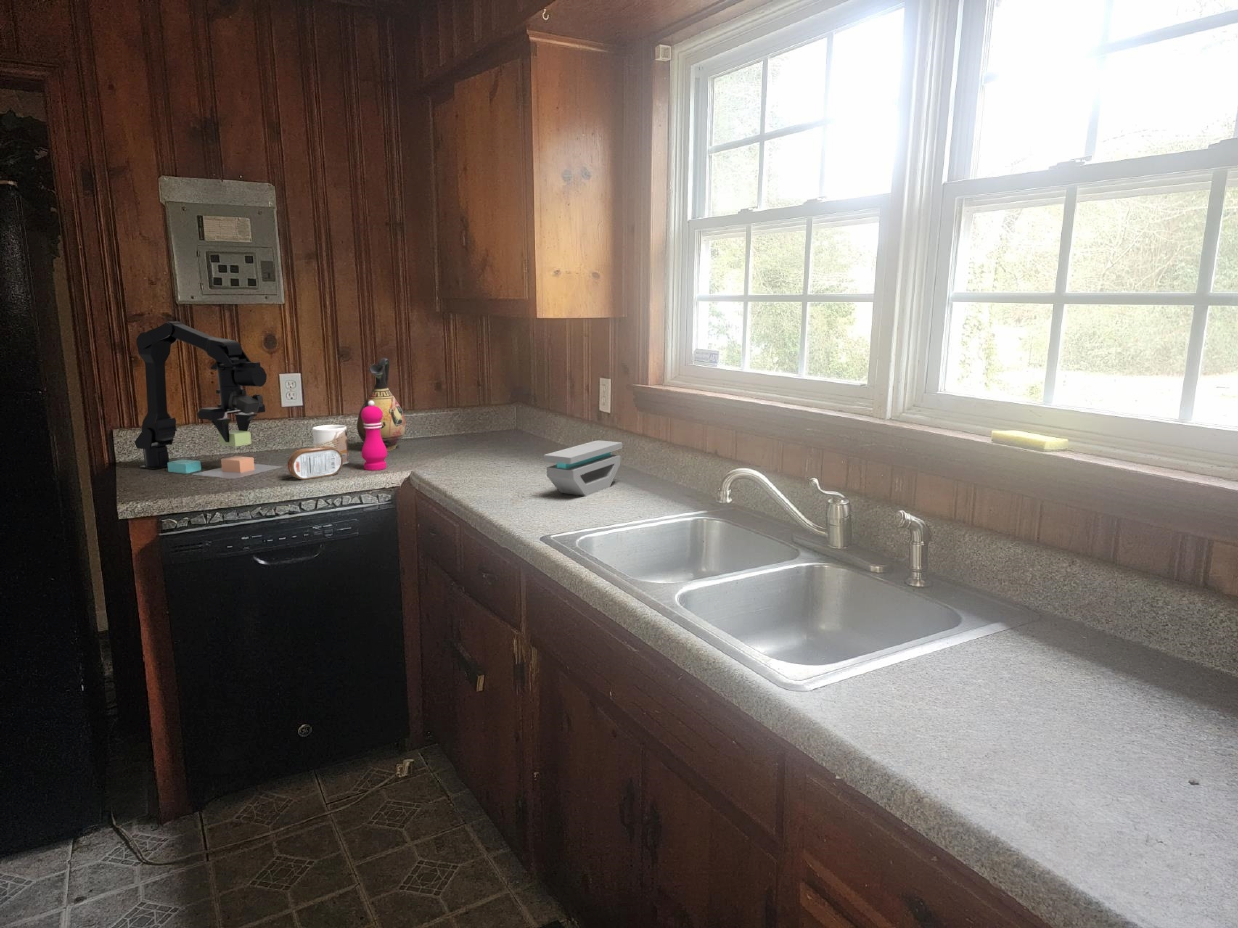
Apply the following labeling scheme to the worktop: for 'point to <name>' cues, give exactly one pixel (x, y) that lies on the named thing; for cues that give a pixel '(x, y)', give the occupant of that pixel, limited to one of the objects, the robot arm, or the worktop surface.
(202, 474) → the baseplate
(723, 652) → the worktop surface
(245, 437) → the olive brick
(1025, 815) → the worktop surface
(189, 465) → the teal brick
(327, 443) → the mug
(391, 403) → the ceramic jug
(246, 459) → the terracotta brick
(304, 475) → the tin
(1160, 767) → the worktop surface
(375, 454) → the pepper mill
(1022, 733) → the worktop surface
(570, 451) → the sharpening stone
